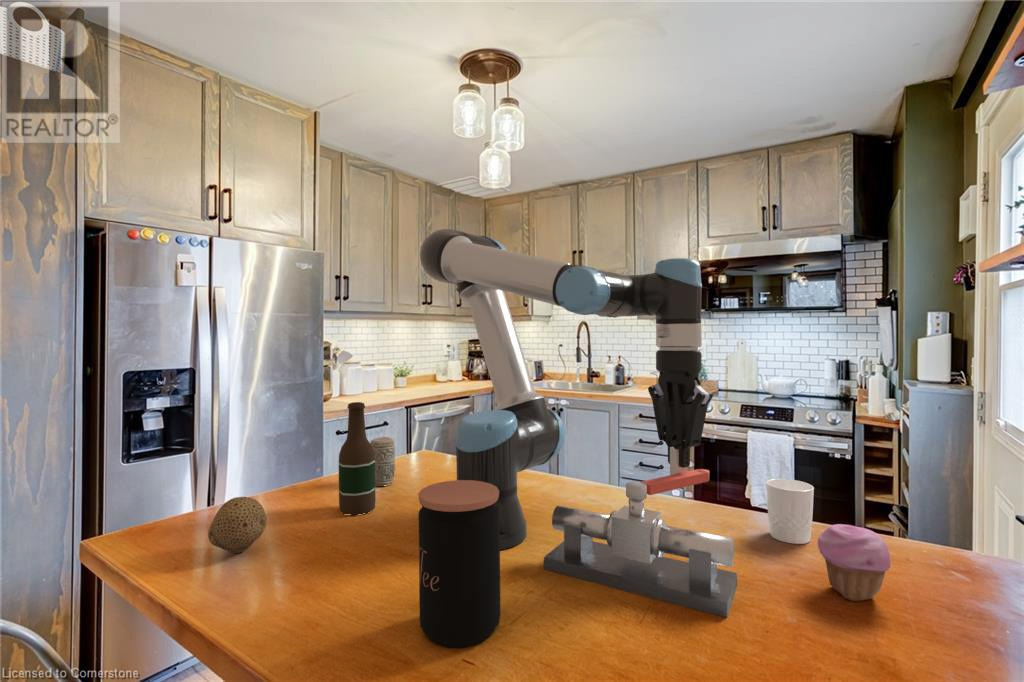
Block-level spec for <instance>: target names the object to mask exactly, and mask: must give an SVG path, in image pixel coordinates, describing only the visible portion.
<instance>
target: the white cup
mask: <svg viewBox="0 0 1024 682" xmlns="http://www.w3.org/2000/svg"><path fill="white" fill-rule="evenodd" d="M765 487H766V504H767V518H768V524H769V525H768V526H769V527H768V528H769V535H770V537H772V538H773V539H774V540H778V541H780V542H782V543H786V544H794V545H805V544H808V543H810V541H811V539H812V538H811V536H812V526H813V515H814V514H813V513H814V496H815V495H814V493H815V491H814V490H815V487H814V486H813V485H812V484H810V483H807V482H805V481H801V480H796V479H790V478H773V479H768V480H766V482H765Z"/></svg>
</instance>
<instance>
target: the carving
mask: <svg viewBox="0 0 1024 682" xmlns="http://www.w3.org/2000/svg"><path fill="white" fill-rule="evenodd" d="M370 444H371V445H372V447H373V450H374V454H375V487H378V486H384V485H388V484H390V485H392V484H393V481H394V477H395V469H396V462H395V460H396V456H395V455H396V445H395V441H394V439H393V437H387V436H382V437H380V436H379V437H377V438H373V439H372V440H370ZM388 486H389V485H388Z"/></svg>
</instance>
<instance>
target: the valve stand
mask: <svg viewBox="0 0 1024 682" xmlns="http://www.w3.org/2000/svg"><path fill="white" fill-rule="evenodd" d="M661 514H662V513H661V511H656V510H652V509H646V508H645V499H640V500H637V499H630V498H628V505H624V506H622V507H621V508H620V509H619V510H612V511H611V512H610V514H606V513H602V512H601V513H600V512H597V511H596V512H595V511H591V510H586V509H579V508H574V507H569V506H564V505H559V504H558V505H556V506H555V508H554V509H553V512H552V516H551V525H552V529H553V530H556V531H560V532H563V541H562V542H561V543H560V544H558V545H557V546H556V547H555V548H553V549H552V550H551V551H549V552H548V553H547V554H546V555H545V556H544V557H543V570H545V569H546V571H549V572H553V571H554V572H553V573H556V572H557V574H560V575H564V576H568V577H573V578H576V579H580V580H582V581H583V580H584V581H588V582H591V583H595V584H599V585H602V586H605V587H610V588H612V589H617V590H621V591H625V592H629V593H633V594H636V595H641V596H643V597H648V598H652V599H655V600H658V601H663V602H667V603H670V604H674V605H678V606H682V607H684V608H685V607H686V608H689V609H692V610H696V611H701V612H704V613H708V614H711V615H716V616H720V617H723V618H728V616H729V613H730V610H731V607H732V604H733V600H734V597H735V594H736V592H737V587H738V573H737V572H736V571H735V572H734V571H730V570H725V569H720V568H717V567H718V566H724V567H728V568H733V565H734V559H735V540H734V537H731V536H725V535H719V534H714V533H709V532H704V531H698V530H693V529H687V528H682V527H676V526H671V525H667V521H666V520H665V519H662V518H661V516H662V515H661ZM593 539H598V540H603V541H606V542H607V543H602V542H598V541H593ZM664 554H668V555H672V556H676V557H682V558H687V559H688V561H684V560H679V559H674V558H671V557H666V556H664Z"/></svg>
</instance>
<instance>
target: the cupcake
mask: <svg viewBox="0 0 1024 682" xmlns="http://www.w3.org/2000/svg"><path fill="white" fill-rule="evenodd" d="M817 549H818V550H819V553H820V555H822V557H823V558H824V560H825V565H826V567H825V568H826V571H827V579H828V581H829V585H830V586H831V587H832V588H833V589H834V590H835V591H836V592H838V593H839V594H841V596H842V597H843V598H845V599H846V600H849V601H851V602H859V601H865V600H870V599H873V598H874V597H875V596H876V595H877V594H878V593H879V591H880V590H881V589H882V588H881V587H882V585H883V581H884V579H885V574H886V572H887V571H889V570H890V568H891V556H890V555H891V554H890V550H889V548H888V545H887V543H886V542H885V540H884V539H883V538H882V537H881V536H880V535H879V534H878V533H876V532H874V531H873V530H871V529H868V528H865V527H859V526H855V525H852V524H842V523H840V524H839V523H837V524H832V525H829V527H827V528H825V530H824V531H823V532H822V533H821V534H820V535H818V538H817Z"/></svg>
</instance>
